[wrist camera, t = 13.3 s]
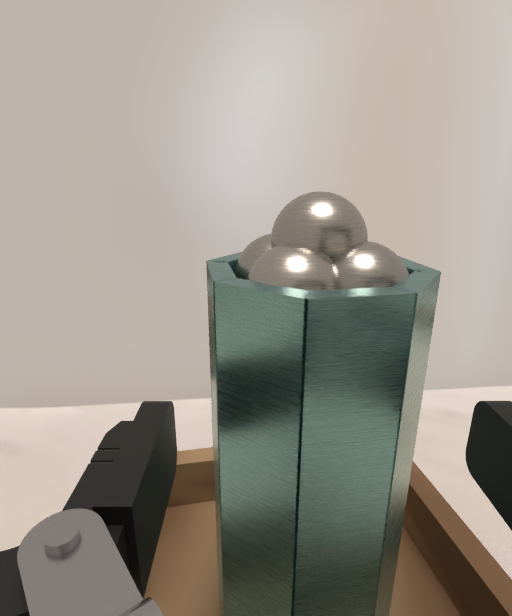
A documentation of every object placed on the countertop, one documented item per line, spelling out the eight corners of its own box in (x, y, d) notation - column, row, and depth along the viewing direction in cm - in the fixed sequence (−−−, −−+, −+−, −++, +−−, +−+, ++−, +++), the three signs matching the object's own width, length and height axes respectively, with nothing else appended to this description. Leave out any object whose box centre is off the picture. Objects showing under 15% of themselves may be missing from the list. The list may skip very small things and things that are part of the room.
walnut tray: (378, 477, 24) (384, 427, 23) (629, 851, 11) (672, 773, 9) (131, 512, 21) (125, 457, 20) (61, 1059, 8) (31, 985, 7)
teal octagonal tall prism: (343, 533, 19) (374, 187, 14) (413, 686, 13) (507, 196, 8) (214, 554, 18) (200, 188, 13) (231, 729, 12) (217, 198, 7)
